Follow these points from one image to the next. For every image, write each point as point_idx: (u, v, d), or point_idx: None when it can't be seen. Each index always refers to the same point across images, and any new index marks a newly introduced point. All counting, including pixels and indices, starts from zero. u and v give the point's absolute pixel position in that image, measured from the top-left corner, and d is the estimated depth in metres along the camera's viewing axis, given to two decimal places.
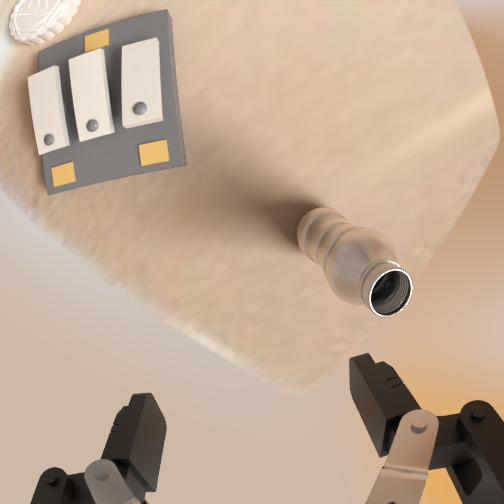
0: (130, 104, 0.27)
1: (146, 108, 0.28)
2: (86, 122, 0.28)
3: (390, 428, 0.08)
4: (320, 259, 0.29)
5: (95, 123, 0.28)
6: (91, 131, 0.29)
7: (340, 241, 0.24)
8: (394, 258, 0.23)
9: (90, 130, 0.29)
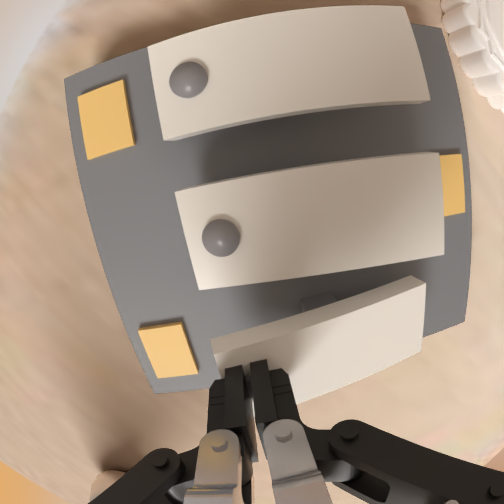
0: (272, 358, 0.12)
1: None
2: (232, 216, 0.11)
3: None
4: None
5: (226, 249, 0.12)
6: (203, 234, 0.12)
7: None
8: None
9: (206, 231, 0.12)
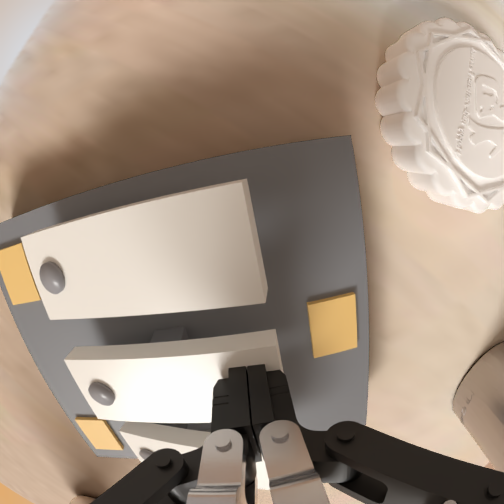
0: (154, 448, 0.15)
1: None
2: (105, 382, 0.12)
3: None
4: None
5: (106, 402, 0.13)
6: (89, 389, 0.13)
7: None
8: None
9: (91, 388, 0.13)
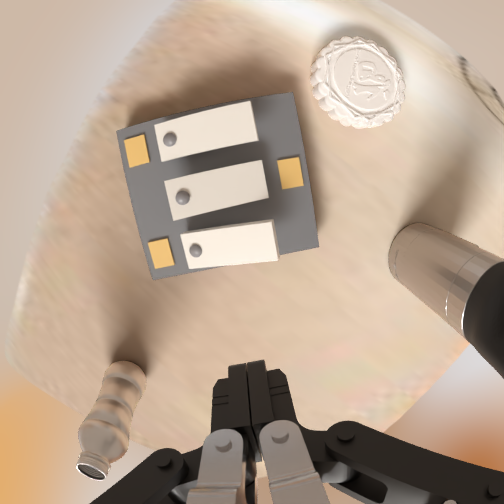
0: (200, 240, 0.33)
1: (196, 256, 0.34)
2: (186, 189, 0.30)
3: None
4: (100, 405, 0.32)
5: (185, 201, 0.30)
6: (176, 196, 0.30)
7: (112, 430, 0.29)
8: (113, 461, 0.28)
9: (177, 195, 0.30)
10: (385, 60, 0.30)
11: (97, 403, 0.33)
